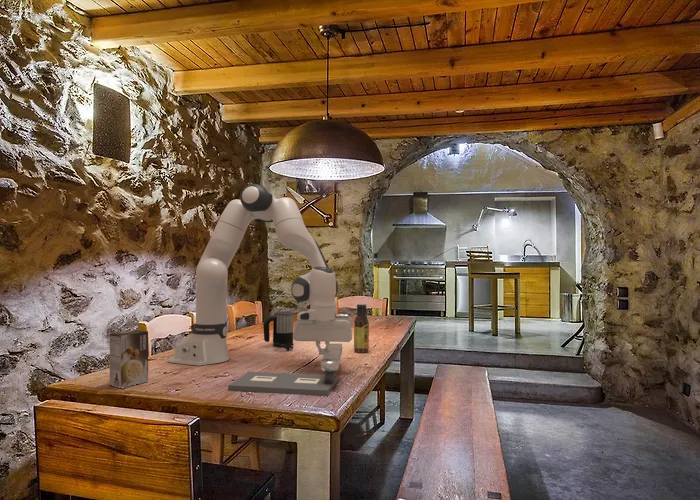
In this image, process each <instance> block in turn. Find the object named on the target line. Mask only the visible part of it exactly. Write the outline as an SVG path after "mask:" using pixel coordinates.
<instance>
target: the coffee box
mask: <svg viewBox="0 0 700 500" xmlns="http://www.w3.org/2000/svg"><path fill="white" fill-rule="evenodd" d="M147 382H149V331H148V330H139V329H132V330H125V331H120V332H113V333H109V386H110V385H112V386H115V387H114V388H116V387H120V388H122V387H126V388H128V387H127V386H130V387H132V386H131V385H134V386H137V385H136V384H138V385H140V384H145V383H147ZM112 386H111V387H112Z"/></svg>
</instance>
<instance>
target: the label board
mask: <svg viewBox="0 0 700 500" xmlns="http://www.w3.org/2000/svg"><path fill="white" fill-rule="evenodd" d="M335 372H336V371H324V374H311V373H310V374H309V373H288V372H287V373H286V372H285V373H284V372H265V371H247V372H246V373H244V374H243V375H241V376H239V378H237V379H236V380H234V381H233V382H231V383H229V384H228V385H227V386H228V387H227V388H228V389H227V390H228V391H230V390H234V391H233V392H236V391H237V392H251V393H253V392H254V393H271V394H285V395H286V394H287V395H289V394H290V395H311V396H326V397H328V396H329V394H330V392H331V391H332V390H333V388H334V387H335V385H336V384H337V383H338V378H339V376H338V375H336V373H335Z"/></svg>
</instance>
